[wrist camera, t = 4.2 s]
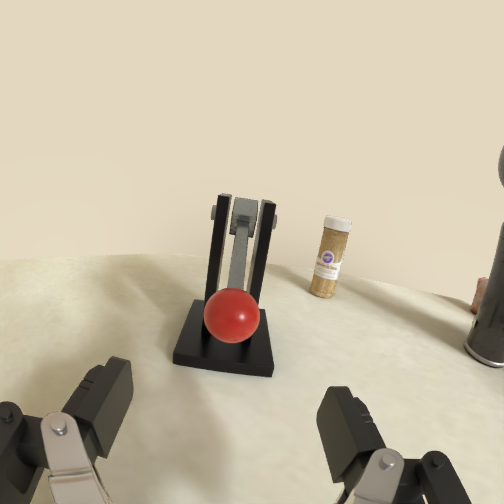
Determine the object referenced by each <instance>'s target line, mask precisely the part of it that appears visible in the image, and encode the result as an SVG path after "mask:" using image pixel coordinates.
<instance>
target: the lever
mask: <svg viewBox="0 0 504 504" xmlns="http://www.w3.org/2000/svg"><path fill="white" fill-rule="evenodd" d="M257 212H258V201H257V200H251V199H245V198H238V197H236V198H235V201H234V206H233V211H232V218H231V225H230V233H229V234H231V235H235V239H234V246H233V252H232V258H231V265H230V271H229V278H228V285H227V288H225V289H222V290H219V291H217V292H216V293H215V294H213V295H212V296H211V297H210V298H209V300H208V301H207V303H206V306H205V309H204V322H205V325H206V327H207V329H208V331H209V332H210V333H211V334H212V335H213V336H214V337H215V338H216V339H218V340H220V341H222V342H226V343H238V342H242V341H244V340H246V339H248V338H249V337H250V336H251V335H252V334H253V333H254V332H255V330H256V329H257V327H258V324H259V320H260V311H259V307H258V304H257V303H256V301H255V299H254V298H253V297H252V296H251V295H250V294H249V293H247V292H246V291H244V290H243V287H244V277H245V266H246V256H247V245H248V237H251V238H252V237H253V235H254V230H255V225H256V221H257Z"/></svg>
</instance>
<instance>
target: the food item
mask: <svg viewBox="0 0 504 504" xmlns="http://www.w3.org/2000/svg"><path fill="white" fill-rule="evenodd" d="M488 280H489V279H487V278H485V277H483V278H479V279H478V284H477V290H476V294H475V297H474V299H473V303H472V305H471V308H470V310H471V311H472V312H474V313H476V314H477V312H478V310H479V307H480V304H481V301H482V299H483V296H484V293H485V290H486V286H487V283H488Z"/></svg>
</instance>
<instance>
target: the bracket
mask: <svg viewBox="0 0 504 504" xmlns="http://www.w3.org/2000/svg"><path fill="white" fill-rule="evenodd" d="M231 197H232V195H231V194H223V193H222V194H220V195H218V199H217V205H213V207H212V213H211V220H214V227H213V234H212V242H211V249H210V257H209V265H208V273H207V282H206V291H205V300H204V301H203V300H196V299H194V301H193V304H192V306H191V308H190V311H189V313H188V316H187V318H186V321H185V324H184V326H183V329H182V331H181V334H180V336H179V339H178V341H177V344H176V347H175V349H174V352H173V364H178V365H183V366H188V367H194V368H200V369H206V370H213V371H220V372H227V373H235V374H244V375H253V376H264V377H272V374H273V370H274V362H273V356H272V350H271V344H270V338H269V331H268V325H267V319H266V313H265V309H259V311H260V320H259V324H258V327H257V329H256V330H255V332H254V333H253V334H252V335H251V336H250V337H249V338H248V339H246V340H244V341H242V342H238V343H226V342H222V341H220V340H218V339H216V338H215V337H214V336H213V335H212V334H211V333H210V332H209V331H208V329H207V327H206V325H205V322H204V309H205V306H206V303H207V301H208V300H209V298H210V297H211V296H212V295H213V294H215V293H216V292H217V291H218V288H219V280H220V273H221V265H222V258H223V251H224V244H225V237H226V230H227V224H228V217H229V210H230V204H231ZM275 209H276V204H275V203H273V202H272V201H269V200H262V201H261V207H260V212H259V218H258V225H257V230H256V237H255V243H254V248H253V255H252V260H251V266H250V272H249V278H248V284H247V290H246V292H247V293H249V294H250V295H251V296H252V297H253V298H254V299H255V301H256V303H257V304H258V303H259V297H260V292H261V287H262V281H263V276H264V271H265V265H266V260H267V254H268V249H269V243H270V237H271V232H272V229H275V227H276V223H277V215H275Z"/></svg>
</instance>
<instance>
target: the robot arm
mask: <svg viewBox="0 0 504 504" xmlns="http://www.w3.org/2000/svg"><path fill="white" fill-rule="evenodd" d="M498 172H499V178H500V181H501V183H502V185H503V187H504V146H503V148H502V151H501V154H500V158H499V163H498ZM464 346H465V348H466V350H467V351H468V352H469V353H470V354H471V355H472V356H473V357H474V358H476V359H477V360H479V361H481V362H482V363H484V364H487V365H489V366H493V367H504V222H503V224H502V227H501V231H500V236H499V241H498V246H497V250H496V255H495V258H494V262H493V266H492V270H491V273H490V277H489V280H488V283H487V286H486V290H485V293H484V296H483V299H482V301H481V304H480V307H479V310H478V312H477V315H476V318H475V317H474V319H473V322H472V327H471V330H470V332H469V334H468V337H467V338H466V340H465V342H464ZM132 397H133V380H132V371H131V363H130V361H129V360H125V359H121V358H118V357H114V356H112V357H111V358H110V359H109V360H108V362H107V363H106V365H105V366H102V365H97V366H96V367H94V368H92V369H91V370H89V371H88V373H87V374H86V376H85V377H84V378H83V380H82V381H81V383H80V384H79V387H77V389H76V390H75V391H74V393H73V394H72V396H71V397H70V399H69V400H68V402H67V403H66V405H65V406H64V408H63V409H62V411H61V412H53V413H50V414H48V415H46V416H45V417H44V418H38V417H33V416H28V415H23V413H22V411H21V409H20V408H19V406H17V405H16V404H15V403H12V402H7V401H6V402H1V403H0V504H30V502H31V500H32V497H33V494H34V492H35V489H36V487H37V484H38V482H39V480H40V477H41V475H42V473H43V470H44V468H47V469H50V472H51V476H49V477H48V480H49V485H50V488H51V491H52V494H53V498H54V500H55V503H56V504H113V502H112V500H111V498H110V496H109V494H108V492H107V490H106V488H105V486H104V484H103V482H102V479H101V477H100V475H99V472H98V470H97V468H96V465H95V461H96V459H97V456H100V457H103V458H106V459H107V457H108V454H109V452H110V449H111V447H112V445H113V442H114V440H115V438H116V435H117V433H118V430H119V428H120V426H121V423H122V421H123V419H124V417H125V414H126V412H127V410H128V408H129V405H130V403H131V401H132ZM316 421H317V426H318V430H319V433H320V437H321V440H322V444H323V448H324V451H325V455H326V458H327V462H328V465H329V469H330V473H331V476H332V480H333V483H339V482H344V486H345V487H344V488H343V489H342V491H341V493H340V494H339V496H338V498H337V499H336V501H335V503H334V504H425V502H424V499H423V496H422V495H423V494H425V497H426V499H427V502H428V504H471V501H470V499H469V497H468V495H467V493H466V491H465V489H464V487H463V485H462V483H461V481H460V479H459V477H458V475H457V473H456V472H455V470H454V468H453V466H452V464H451V462H450V460H449V459H448V457H447V456H446V455H445V454H444V453H442V452H439V451H430V452H427V453H426V454H425V455H424V456H423V457H422V458H421V459H404V458H403V457H402V456H401V455H400V454H399V453H398V452H397V451H395V450H393V449H389V448H387V447H386V446H385V443H384V441H383V439H382V437H381V435H380V433H379V431H378V429H377V427H376V425H375V423H373V419H372V417H371V416H370V413H369V411H368V409H367V407H366V405H365V404H364V403H363V402H362V401H361V400H360V399H359V398H358V397H355V398H353V396H352V394H351V392H350V390H349V388H348V387H347V386H330V387H329V388H328V389H327V391H326V394H325V396H324V398H323V400H322V403H321V405H320V407H319V409H318V412H317V418H316Z"/></svg>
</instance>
